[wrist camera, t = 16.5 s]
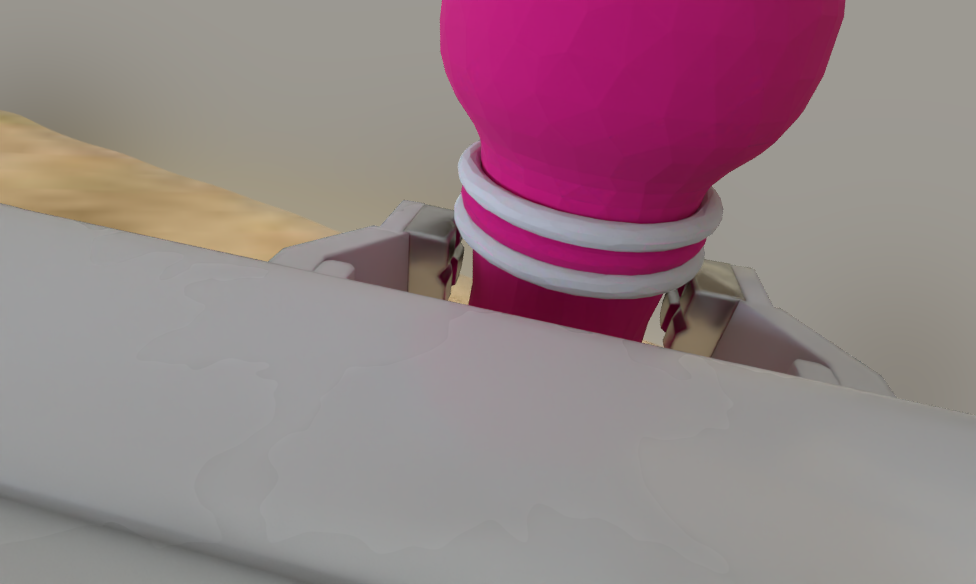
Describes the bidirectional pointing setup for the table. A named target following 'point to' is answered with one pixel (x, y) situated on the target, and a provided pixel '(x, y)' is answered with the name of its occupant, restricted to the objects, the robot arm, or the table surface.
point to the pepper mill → (615, 140)
